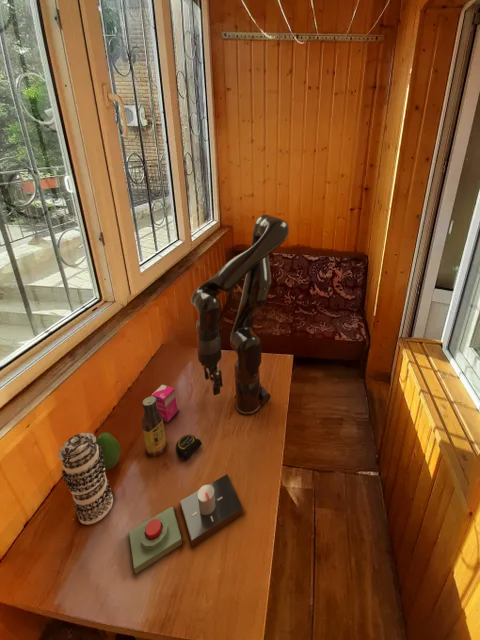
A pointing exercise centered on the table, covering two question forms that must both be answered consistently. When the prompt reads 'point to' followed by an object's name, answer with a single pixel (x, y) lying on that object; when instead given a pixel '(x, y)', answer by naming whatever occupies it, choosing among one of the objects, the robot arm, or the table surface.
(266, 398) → the robot arm
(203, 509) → the stove knob
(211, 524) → the hob panel
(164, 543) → the block
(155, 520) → the power button
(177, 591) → the table surface
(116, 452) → the avocado
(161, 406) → the supplement box
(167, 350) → the table surface
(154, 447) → the sauce bottle
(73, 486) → the decorative candle
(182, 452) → the tape measure
